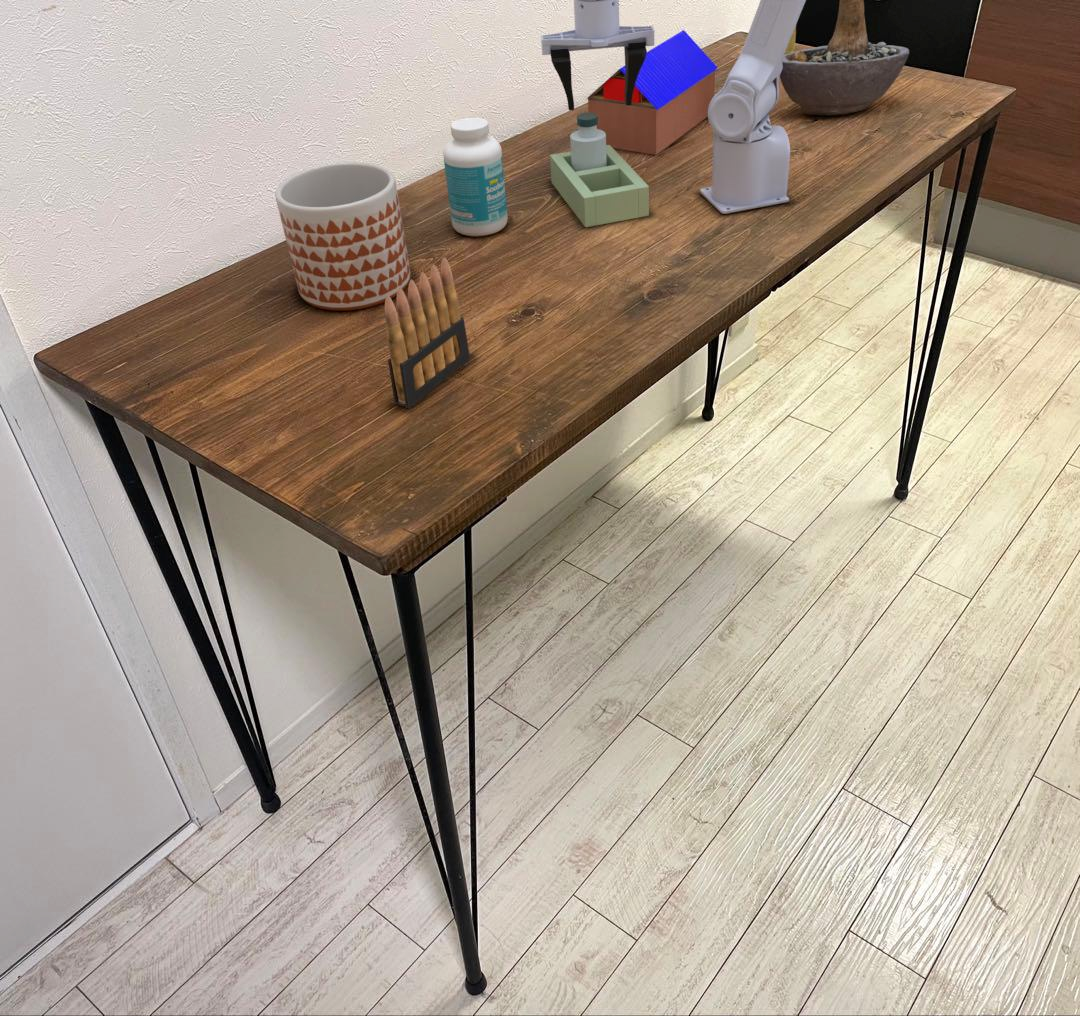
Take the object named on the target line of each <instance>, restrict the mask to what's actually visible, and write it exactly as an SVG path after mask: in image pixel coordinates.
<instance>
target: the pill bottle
mask: <svg viewBox="0 0 1080 1016" xmlns="http://www.w3.org/2000/svg"><path fill="white" fill-rule="evenodd" d="M489 132H490V128H489V122H488V120H487V119H485V118H482V117H464V118H459V119H457V120H455V121H453V122H452V123H451V124H450V135H451V136H452V138H453V139H451V140H450V141H449V142H447V143H446V144H445V147H444V149H443V154H442V155H443V164H444V173H445V179H446V187H447V195H448V203H449V212H450V218H451V225H452V228H453V230H454V231H456V232H457V233H459V234H461V235H463V236H469V237H484V236H489V235H493V234H496V233H497V232H500V231H501V230H503V229H504V228H505V227H506V226H507V223H508V221H509V220H508V205H507V194H506V185H505V173H504V172H505V171H504V162H503V160H504V159H503V150H502V146H501V144H500V142H499V141H498V140H497V139H496V138H494V137H492V136H490V133H489Z"/></svg>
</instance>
